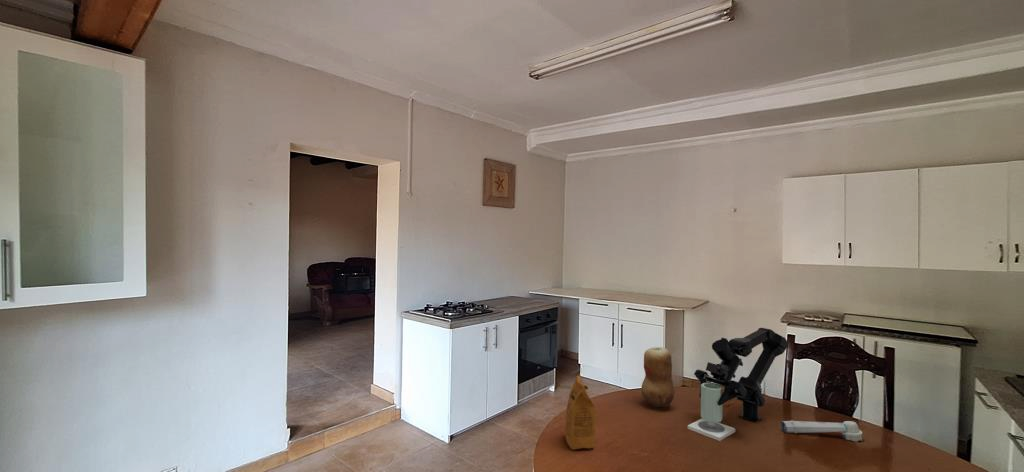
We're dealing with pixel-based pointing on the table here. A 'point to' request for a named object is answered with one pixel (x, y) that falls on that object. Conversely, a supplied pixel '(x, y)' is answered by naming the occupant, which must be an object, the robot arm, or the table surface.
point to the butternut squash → (658, 377)
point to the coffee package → (580, 418)
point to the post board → (711, 429)
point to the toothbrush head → (824, 428)
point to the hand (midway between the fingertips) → (709, 401)
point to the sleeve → (711, 402)
